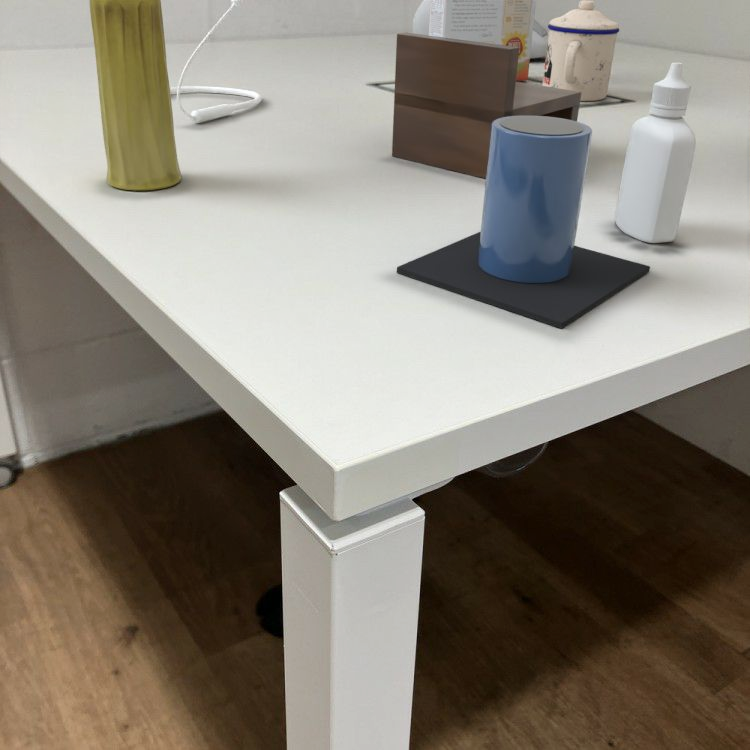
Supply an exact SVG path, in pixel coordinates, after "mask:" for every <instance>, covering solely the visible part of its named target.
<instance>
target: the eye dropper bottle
mask: <svg viewBox="0 0 750 750" xmlns="http://www.w3.org/2000/svg"><path fill="white" fill-rule="evenodd" d="M691 89H692V87H691V85H690V84H689V83H687V82H685V80H684V79H683V63H681V62H671V64H670V66H669V69H668V71H667V74H666V76H665V78H664V79H661V80H659V81H657V82H655V83H654V84H653V90H652V95H651V100H650V105H649V110H648V112H649V113H650V114H649V115H646V116H643V117H640V118H638V119H637V120H636V121H634V123H633V124H632V126H631V130H630V132H629V138H628V142H627V146H626V147H627V148H626V152H625V158H624V163H623V169H622V174H621V180H620V186H619V192H618V197H617V202H616V208H615V213H614V222H615V224H616V227H618V229H619V230H620V231H621V232H623V233H624V234H625V235H627V236H630V237H631V238H634V239H635V240H639V241H641V242H644V243H649V244H658V243H659V244H660V243H670V242H674V240H675V239H676V237H677V236H678V235H677V234H678V229H679V225H680V222H681V216H682V211H683V207H684V202H685V199H686V195H687V194H686V193H687V189H688V184H689V180H690V175H691V171H692V166H693V162H694V156H695V152H696V151H695V150H696V143H697V142H696V141H697V140H696V136H695V132H694V130H693V129H692V127H691V126H690V125H689V123H688V122H687V121H686V120H685V119H684V117H685V116H686V113H687V109H688V104H689V98H690V93H691Z"/></svg>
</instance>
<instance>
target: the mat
mask: <svg viewBox="0 0 750 750" xmlns="http://www.w3.org/2000/svg"><path fill="white" fill-rule="evenodd" d="M480 234H481V231H479V232H476V233H474V234H471V235H469V236H467V237H464V238H462V239H460V240H457V241H455V242H452V243H451V244H448V245H445V246H443V247H441V248H438V249H436V250H434V251H431V252H429V253H427V254H425V255H422V256H419V257H418V258H417V257H416V258H415V259H412V260H410V261H408V262H405V263H403V264H401V265H398V266H397V267H396V273H397V274H400V275H403V276H406V277H409V278H412V279H414V280H418V281H421V282H423V283H426V284H430V285H432V286H435V287H438V288H441V289H444V290H447V291H450V292H453V293H456V294H459V295H462V296H465V297H468V298H470V299H474V300H476V301H480V302H482V303H485V304H488V305H491V306H494V307H497V308H500V309H503V310H506V311H509V312H511V313H515V314H517V315H520V316H524V317H526V318H529V319H532V320H535V321H537V322H541V323H543V324H547V325H550V326H553V327H556V328H558V329H563V328H565V327H567V326H568V325H569V324H572V323H573V322H574V321H575V320H577V319H579V318H580V317H582V316H583V315H586V313H588V312H590V311H591V310H593V309H594V308H596V307H597V306H599V305H601V304H602V303H603V302H605V301H606V300H609V298H611V297H613V296H615V295H616V294H617V293H619V292H620V291H623V289H625V288H627V287H628V286H629V285H631V284H632V283H634V282H636V281H637V280H639V279H641V278H642V277H643V276H645V275H647V274H649V273H650V271H651V266H650V265H647V264H643V263H639V262H636V261H632V260H628V259H625V258H622V257H617V256H614V255H610V254H607V253H603V252H599V251H595V250H592V249H588V248H585V247H581V246H577V245H574V250H573V257H572V263H571V269H570V273H569V274H568V275H567V276H566V277H565V278H563V279H561V280H558V281H554V282H549V283H520V282H513V281H508V280H504V279H500V278H497V277H494V276H492V275H490V274H488V273H486V272H485V271H483V270H482V269H481V268H480V267H479V264H478V254H479V244H480Z"/></svg>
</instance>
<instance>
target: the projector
mask: <svg viewBox="0 0 750 750" xmlns="http://www.w3.org/2000/svg"><path fill="white" fill-rule="evenodd" d="M429 14H430V0H422V1H421V3H420V4H419V6H418V7H417V9H416V11H415V13H414V15H413V19H412V33H414V34H421V35H429ZM548 37H549V31H548V30H547V29H546V28H545V27H543V25H542V24H540V23H539V22H538V21H537V20H536V19H535V18H534V25H533V35H532V44H531V53H530V59H538V58H543V57H546V52H547V45H548Z"/></svg>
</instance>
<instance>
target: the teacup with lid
mask: <svg viewBox="0 0 750 750" xmlns="http://www.w3.org/2000/svg"><path fill="white" fill-rule="evenodd" d="M595 6H596V2H595V1H594V0H580V1H579V3H578V8H576V9H575V8H574V9H571V10H569V11H568V12H566V13H565V14H563V15H561V16H558V17H555V18H552V19H551V20H550V21H549V23H548V25H547V28H548V35H549V37H548V45H547V52H546V55H545V61H544V70H543V78H542V85H541V86H547V87H553V88H559V89H565V90H572V91H578V92H581V99H580V102H596V101H602V100H604V99H605V98H607V95H608V92H609V91H608V89H609V85H610V79H611V73H612V67H613V60H614V53H615V47H616V41H617V36H618V34H619V32H620V25H619V23H618V22H616V21H614V20H612V19H609V18H608V17H607V16H606V15H605V14H603V12H601V11H599V10H596V9H595Z"/></svg>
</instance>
